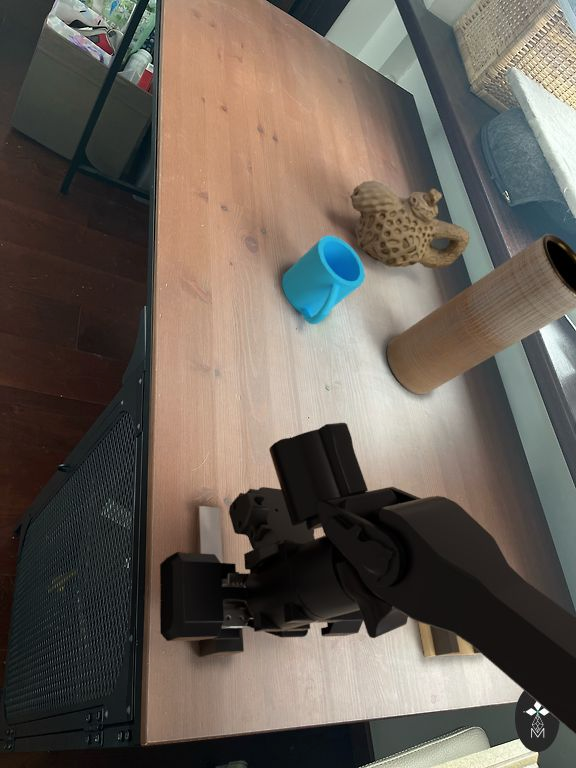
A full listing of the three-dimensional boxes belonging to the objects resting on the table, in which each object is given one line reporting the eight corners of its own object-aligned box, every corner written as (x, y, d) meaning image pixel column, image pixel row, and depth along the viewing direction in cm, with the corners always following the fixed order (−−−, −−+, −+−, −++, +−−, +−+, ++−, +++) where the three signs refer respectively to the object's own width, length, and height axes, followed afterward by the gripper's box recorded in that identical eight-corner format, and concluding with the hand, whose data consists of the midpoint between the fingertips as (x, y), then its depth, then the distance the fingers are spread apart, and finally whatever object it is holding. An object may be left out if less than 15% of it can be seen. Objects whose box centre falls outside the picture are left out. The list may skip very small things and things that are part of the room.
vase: (436, 401, 96) (603, 310, 77) (391, 387, 91) (558, 285, 72) (425, 347, 101) (579, 249, 82) (381, 331, 96) (535, 221, 76)
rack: (464, 588, 81) (485, 582, 79) (479, 654, 77) (502, 650, 75) (411, 586, 76) (432, 580, 73) (424, 657, 72) (447, 653, 69)
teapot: (322, 240, 97) (389, 177, 87) (328, 195, 104) (390, 132, 94) (419, 306, 106) (490, 256, 95) (419, 261, 113) (485, 210, 102)
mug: (285, 259, 89) (320, 225, 84) (329, 286, 93) (365, 255, 87) (275, 321, 82) (313, 288, 76) (323, 348, 86) (363, 318, 80)
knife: (225, 656, 57) (244, 651, 55) (199, 657, 56) (216, 652, 54) (218, 509, 64) (234, 500, 62) (194, 507, 62) (210, 497, 60)
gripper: (391, 489, 56) (289, 535, 66) (209, 461, 45) (124, 521, 56) (415, 620, 50) (300, 647, 61) (216, 622, 40) (120, 654, 51)
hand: (217, 614), depth 57 cm, fingers closed on knife, 3 cm apart
